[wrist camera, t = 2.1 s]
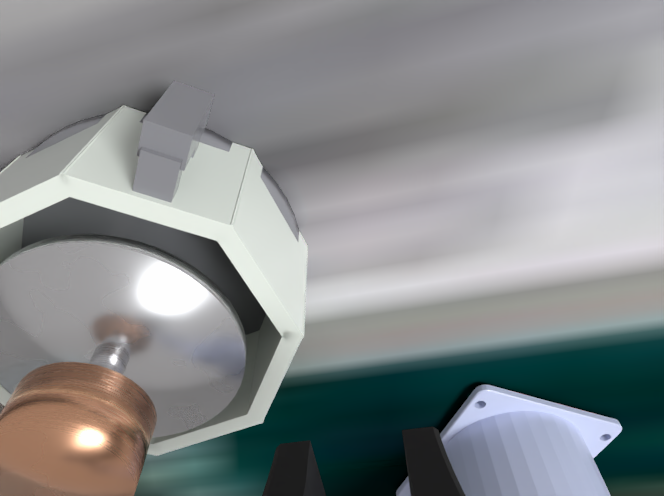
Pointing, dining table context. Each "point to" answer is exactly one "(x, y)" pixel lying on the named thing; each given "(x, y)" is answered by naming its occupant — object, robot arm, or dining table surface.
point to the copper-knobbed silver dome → (106, 361)
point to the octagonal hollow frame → (175, 225)
